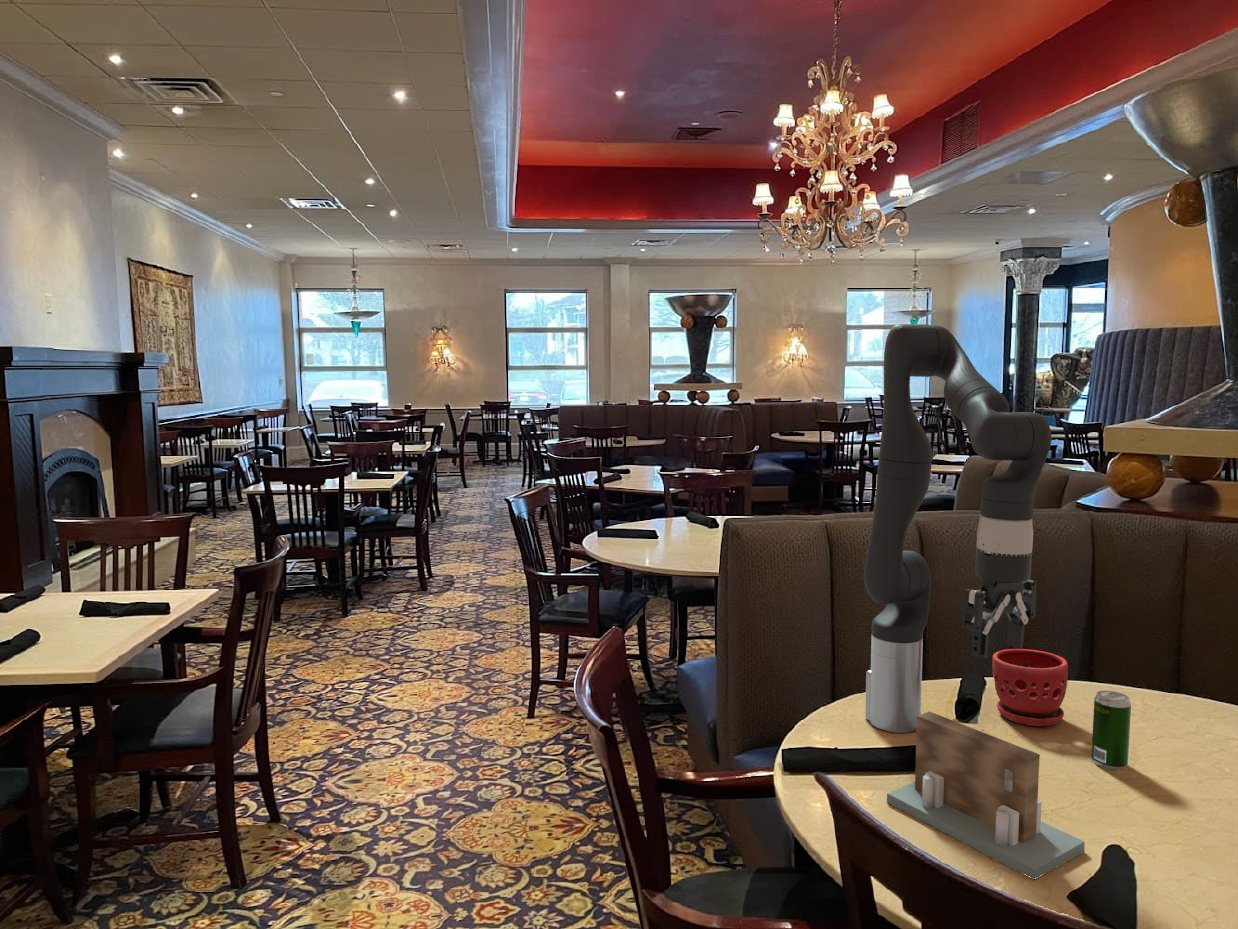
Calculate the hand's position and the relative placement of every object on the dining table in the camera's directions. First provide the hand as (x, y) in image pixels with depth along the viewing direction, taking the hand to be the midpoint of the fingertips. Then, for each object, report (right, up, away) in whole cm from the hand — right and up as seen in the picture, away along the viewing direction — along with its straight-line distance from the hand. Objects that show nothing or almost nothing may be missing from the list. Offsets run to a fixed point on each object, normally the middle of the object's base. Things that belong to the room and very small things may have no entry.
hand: (997, 651), depth 125 cm
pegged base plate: (-4, -25, -3) cm, 25 cm away
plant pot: (+22, -21, +36) cm, 47 cm away
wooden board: (-4, -23, -2) cm, 24 cm away
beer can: (+27, -23, +16) cm, 39 cm away
